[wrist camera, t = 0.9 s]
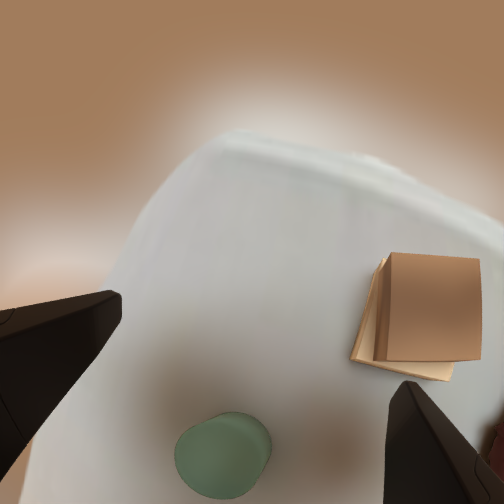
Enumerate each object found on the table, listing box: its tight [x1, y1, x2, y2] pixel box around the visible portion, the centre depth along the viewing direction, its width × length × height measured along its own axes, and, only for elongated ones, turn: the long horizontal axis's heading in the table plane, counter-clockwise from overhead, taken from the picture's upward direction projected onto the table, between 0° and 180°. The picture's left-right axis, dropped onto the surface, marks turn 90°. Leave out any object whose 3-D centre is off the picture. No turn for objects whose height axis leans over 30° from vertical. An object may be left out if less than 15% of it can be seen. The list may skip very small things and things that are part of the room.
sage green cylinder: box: [175, 412, 272, 499], centre depth 16 cm, size 5×5×4 cm
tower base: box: [349, 258, 454, 382], centre depth 17 cm, size 6×6×4 cm
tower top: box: [373, 252, 482, 362], centre depth 14 cm, size 5×5×4 cm
